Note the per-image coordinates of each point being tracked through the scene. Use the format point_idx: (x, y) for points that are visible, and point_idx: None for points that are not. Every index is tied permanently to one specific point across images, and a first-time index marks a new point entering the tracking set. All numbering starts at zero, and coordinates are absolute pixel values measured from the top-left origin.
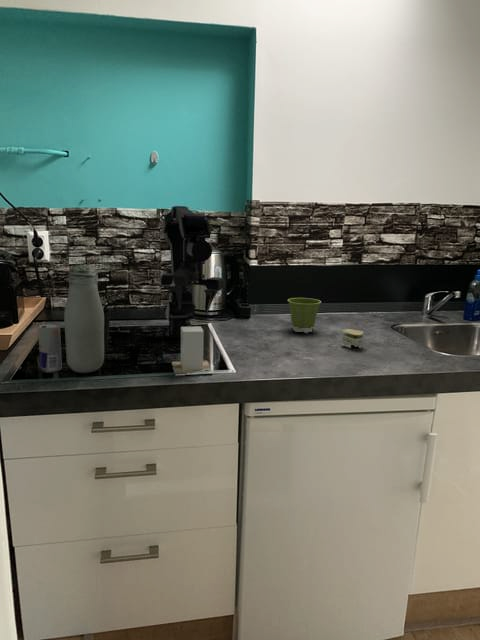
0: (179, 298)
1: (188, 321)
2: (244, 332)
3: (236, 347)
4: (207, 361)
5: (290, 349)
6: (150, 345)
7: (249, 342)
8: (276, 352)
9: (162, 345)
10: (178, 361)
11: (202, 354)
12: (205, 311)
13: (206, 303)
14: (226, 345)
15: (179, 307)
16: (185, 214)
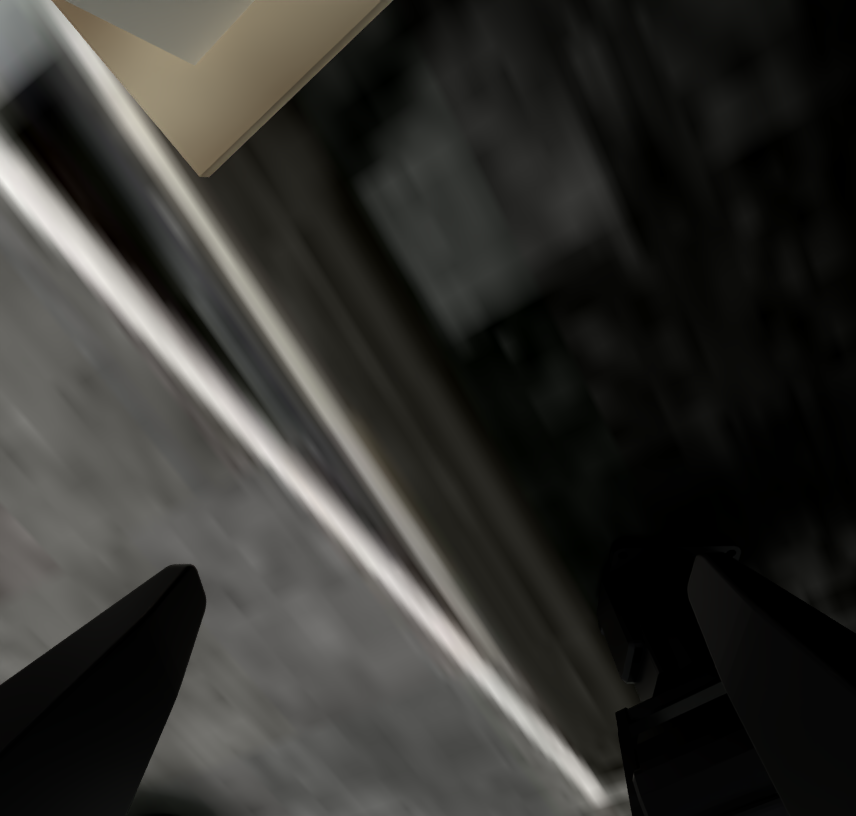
0: (823, 775)
1: (644, 686)
2: (377, 754)
3: (265, 556)
4: (181, 150)
5: (24, 637)
6: (787, 353)
7: (262, 648)
8: (38, 572)
9: (701, 393)
10: (376, 4)
11: None
12: (185, 566)
13: (33, 690)
14: (334, 562)
15: (701, 587)
16: None
